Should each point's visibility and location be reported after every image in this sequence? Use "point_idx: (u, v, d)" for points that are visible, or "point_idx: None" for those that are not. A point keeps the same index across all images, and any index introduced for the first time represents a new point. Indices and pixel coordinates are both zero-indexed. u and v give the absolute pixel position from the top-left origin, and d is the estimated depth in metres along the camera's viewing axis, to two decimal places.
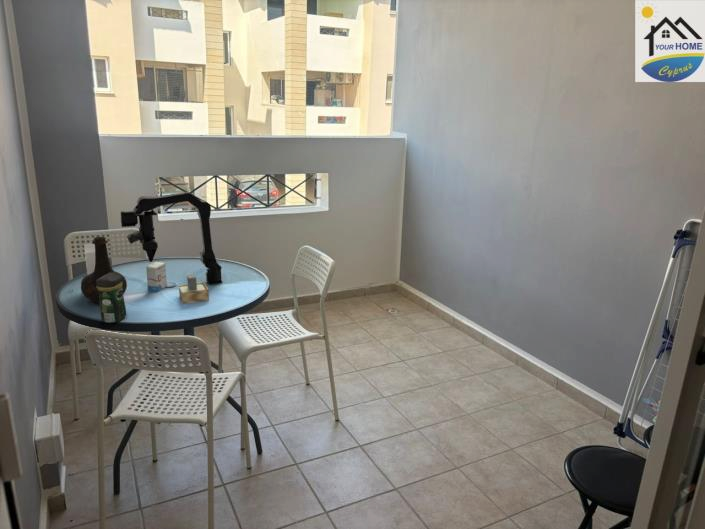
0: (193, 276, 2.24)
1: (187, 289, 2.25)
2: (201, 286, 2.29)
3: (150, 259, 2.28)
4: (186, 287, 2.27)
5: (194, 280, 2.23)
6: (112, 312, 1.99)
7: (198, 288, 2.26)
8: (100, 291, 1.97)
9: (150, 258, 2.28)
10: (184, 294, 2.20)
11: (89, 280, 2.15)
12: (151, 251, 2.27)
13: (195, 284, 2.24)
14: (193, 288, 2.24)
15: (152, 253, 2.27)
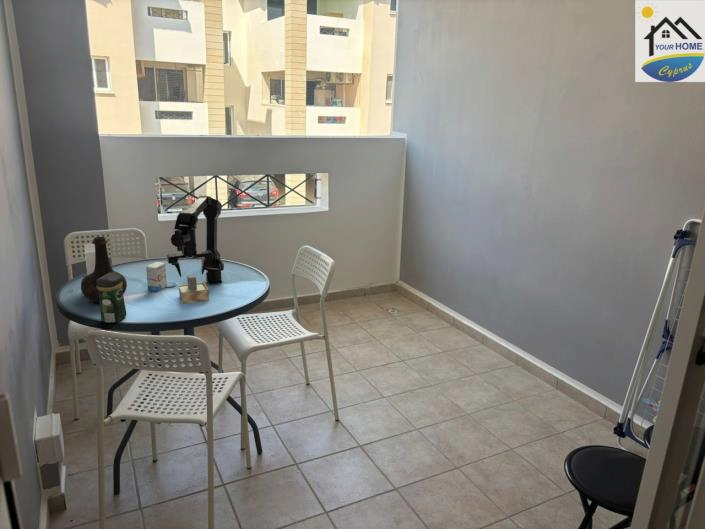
0: (193, 276, 2.24)
1: (187, 289, 2.25)
2: (201, 286, 2.29)
3: (179, 274, 2.22)
4: (186, 287, 2.27)
5: (194, 280, 2.23)
6: (112, 312, 1.99)
7: (198, 288, 2.26)
8: (100, 291, 1.97)
9: None
10: (184, 294, 2.20)
11: (89, 280, 2.15)
12: None
13: (195, 284, 2.24)
14: (193, 288, 2.24)
15: (177, 268, 2.20)
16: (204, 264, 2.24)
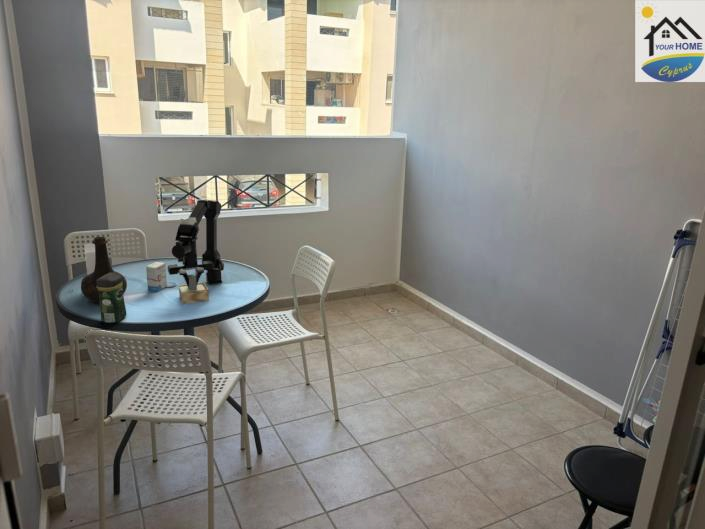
0: (193, 276, 2.24)
1: (187, 289, 2.25)
2: (201, 286, 2.29)
3: None
4: (186, 287, 2.27)
5: (194, 280, 2.23)
6: (112, 312, 1.99)
7: (198, 288, 2.26)
8: (100, 291, 1.97)
9: (186, 283, 2.25)
10: (184, 294, 2.20)
11: (89, 280, 2.15)
12: None
13: (195, 284, 2.24)
14: (193, 288, 2.24)
15: (184, 278, 2.23)
16: (198, 275, 2.24)
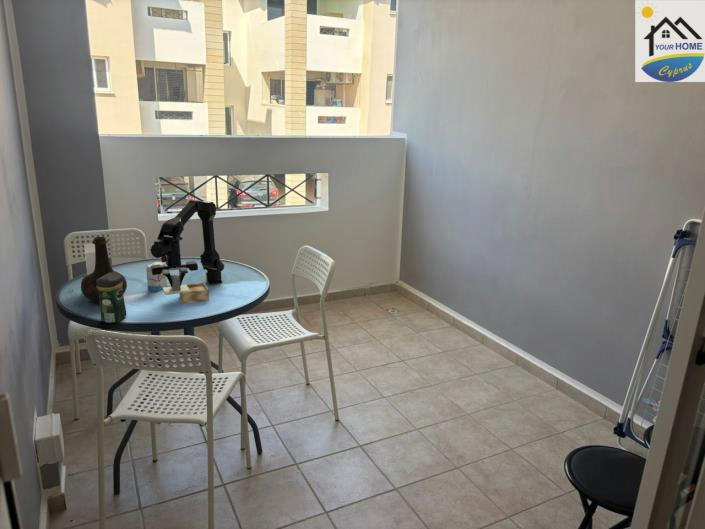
0: (177, 276, 2.21)
1: (171, 290, 2.21)
2: (185, 287, 2.26)
3: (170, 284, 2.22)
4: (170, 288, 2.24)
5: (178, 280, 2.20)
6: (112, 312, 1.99)
7: (182, 289, 2.23)
8: (100, 291, 1.97)
9: None
10: (184, 294, 2.20)
11: (89, 280, 2.15)
12: None
13: (179, 285, 2.21)
14: (177, 289, 2.21)
15: (168, 279, 2.20)
16: (181, 276, 2.20)
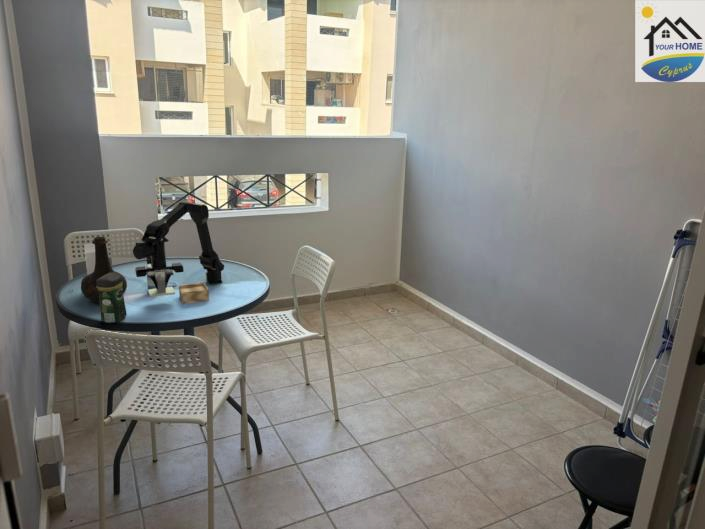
0: (162, 278, 2.19)
1: (156, 292, 2.19)
2: (171, 289, 2.23)
3: (155, 286, 2.19)
4: (155, 290, 2.21)
5: (163, 282, 2.17)
6: (112, 312, 1.99)
7: (167, 291, 2.21)
8: (100, 291, 1.97)
9: (155, 285, 2.19)
10: (184, 294, 2.20)
11: (89, 280, 2.15)
12: None
13: (164, 287, 2.18)
14: (162, 291, 2.18)
15: (153, 281, 2.17)
16: (167, 278, 2.18)
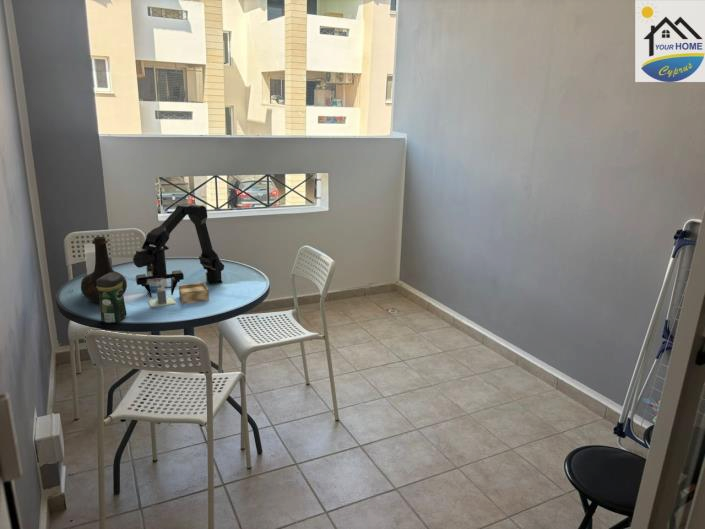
0: (162, 289, 2.20)
1: (156, 303, 2.20)
2: (171, 299, 2.25)
3: (149, 294, 2.19)
4: (156, 300, 2.23)
5: (163, 293, 2.19)
6: (112, 312, 1.99)
7: (168, 301, 2.22)
8: (100, 291, 1.97)
9: (149, 293, 2.19)
10: (184, 294, 2.20)
11: (89, 280, 2.15)
12: None
13: (164, 298, 2.20)
14: (162, 302, 2.20)
15: None
16: (173, 285, 2.20)
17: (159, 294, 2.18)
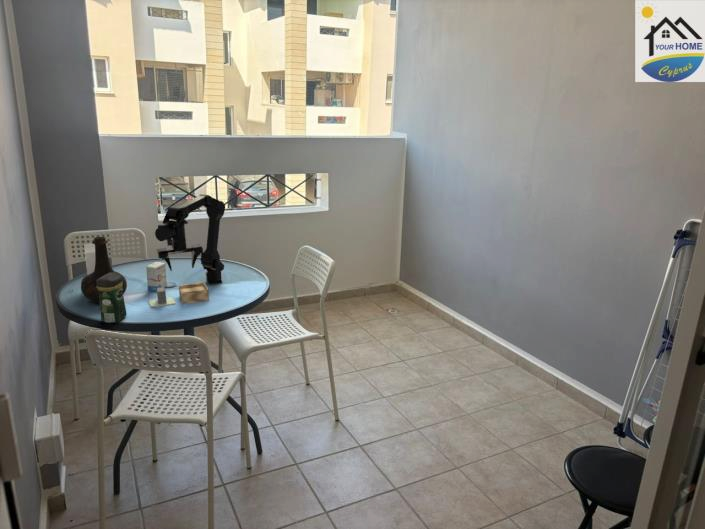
0: (162, 289, 2.20)
1: (156, 303, 2.20)
2: (171, 299, 2.25)
3: None
4: (156, 300, 2.23)
5: (163, 293, 2.19)
6: (112, 312, 1.99)
7: (168, 301, 2.22)
8: (100, 291, 1.97)
9: (169, 267, 2.26)
10: (184, 294, 2.20)
11: (89, 280, 2.15)
12: None
13: (164, 298, 2.20)
14: (162, 302, 2.20)
15: (167, 263, 2.24)
16: (194, 258, 2.27)
17: (159, 294, 2.18)
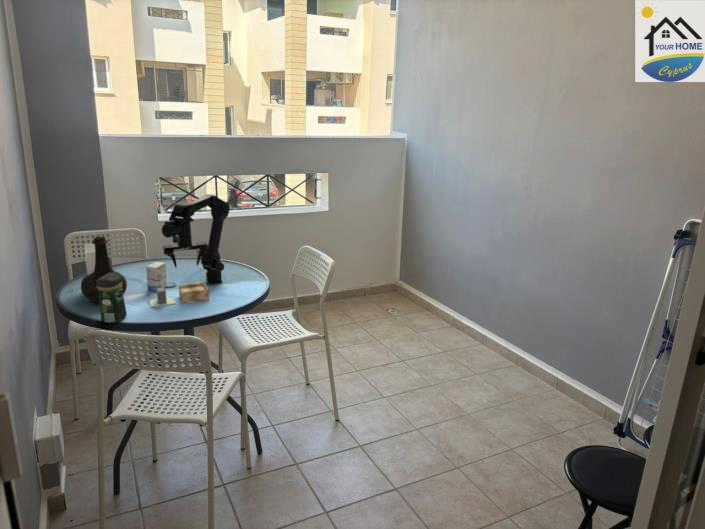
0: (163, 289, 2.20)
1: (156, 303, 2.20)
2: (171, 299, 2.25)
3: None
4: (156, 300, 2.23)
5: (163, 293, 2.19)
6: (112, 312, 1.99)
7: (168, 301, 2.22)
8: (100, 291, 1.97)
9: (174, 264, 2.28)
10: (184, 294, 2.20)
11: (89, 280, 2.15)
12: None
13: (165, 298, 2.20)
14: (163, 302, 2.20)
15: (172, 259, 2.26)
16: (199, 255, 2.29)
17: (159, 294, 2.18)
